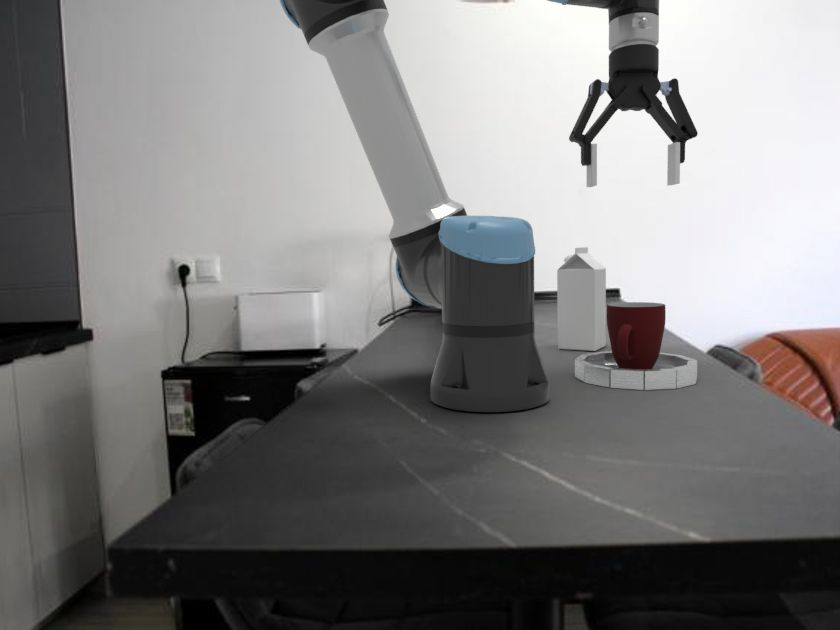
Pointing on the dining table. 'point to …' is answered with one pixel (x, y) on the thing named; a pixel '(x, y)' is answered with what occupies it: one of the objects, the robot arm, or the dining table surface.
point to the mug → (636, 333)
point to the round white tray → (636, 372)
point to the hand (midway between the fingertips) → (632, 185)
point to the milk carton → (581, 302)
